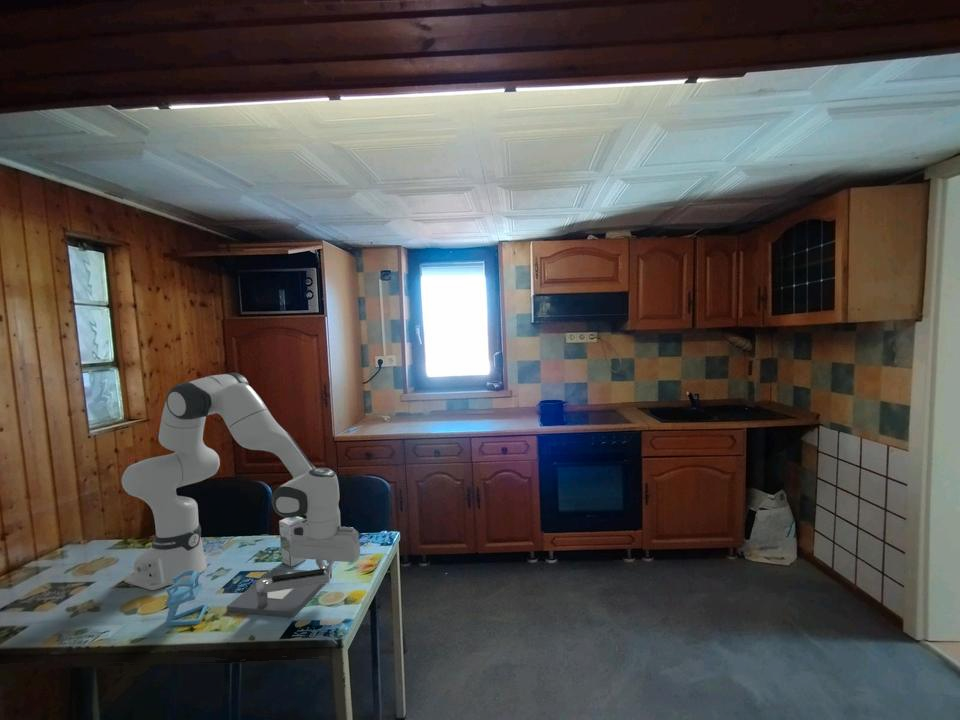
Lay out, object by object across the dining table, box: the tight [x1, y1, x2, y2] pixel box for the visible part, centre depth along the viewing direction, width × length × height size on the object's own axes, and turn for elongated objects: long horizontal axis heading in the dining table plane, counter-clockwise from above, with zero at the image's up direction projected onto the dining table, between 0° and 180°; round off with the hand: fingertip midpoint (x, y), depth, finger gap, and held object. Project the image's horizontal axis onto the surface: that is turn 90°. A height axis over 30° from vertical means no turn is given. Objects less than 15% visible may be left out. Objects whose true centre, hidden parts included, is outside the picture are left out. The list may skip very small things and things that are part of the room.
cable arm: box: [255, 568, 331, 595], centre depth 111 cm, size 3×19×4 cm, turn 103°
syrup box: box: [278, 516, 307, 568], centre depth 135 cm, size 6×6×14 cm
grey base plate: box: [226, 567, 333, 619], centre depth 117 cm, size 20×19×5 cm
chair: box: [164, 571, 208, 627], centre depth 107 cm, size 8×8×12 cm
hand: (326, 573), depth 115 cm, fingers closed
